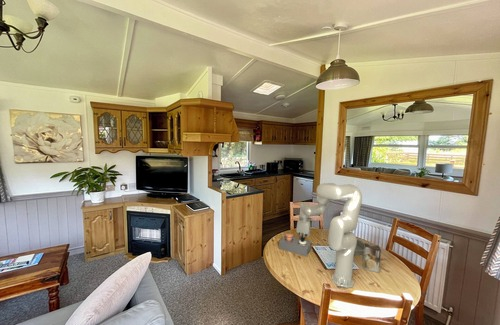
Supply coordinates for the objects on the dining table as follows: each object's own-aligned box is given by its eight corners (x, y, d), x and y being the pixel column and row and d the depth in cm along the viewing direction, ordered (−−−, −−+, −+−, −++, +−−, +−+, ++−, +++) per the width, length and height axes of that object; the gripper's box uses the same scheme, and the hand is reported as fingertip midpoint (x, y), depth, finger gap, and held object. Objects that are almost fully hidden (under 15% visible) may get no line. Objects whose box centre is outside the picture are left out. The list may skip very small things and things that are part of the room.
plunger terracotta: (291, 244, 164) (291, 236, 163) (284, 242, 167) (284, 234, 166) (293, 241, 169) (293, 234, 168) (286, 239, 172) (287, 232, 171)
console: (306, 256, 154) (307, 249, 154) (279, 248, 165) (279, 241, 164) (311, 248, 166) (311, 241, 166) (285, 241, 177) (285, 234, 176)
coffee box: (377, 267, 144) (379, 245, 142) (379, 272, 138) (381, 249, 136) (362, 264, 147) (364, 242, 146) (363, 269, 141) (365, 246, 140)
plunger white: (304, 251, 159) (305, 243, 158) (297, 249, 162) (298, 241, 161) (306, 248, 164) (307, 240, 163) (299, 246, 167) (300, 239, 166)
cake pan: (358, 242, 181) (359, 237, 180) (372, 257, 157) (372, 252, 156) (329, 239, 183) (329, 235, 183) (338, 254, 159) (338, 249, 158)
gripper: (315, 219, 160) (313, 242, 162) (296, 215, 167) (294, 236, 169) (312, 222, 153) (310, 246, 155) (293, 218, 161) (291, 240, 163)
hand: (302, 241), depth 162 cm, fingers closed
